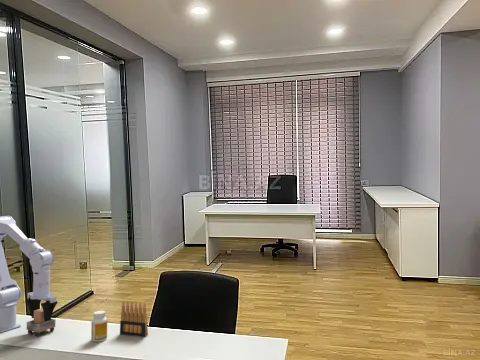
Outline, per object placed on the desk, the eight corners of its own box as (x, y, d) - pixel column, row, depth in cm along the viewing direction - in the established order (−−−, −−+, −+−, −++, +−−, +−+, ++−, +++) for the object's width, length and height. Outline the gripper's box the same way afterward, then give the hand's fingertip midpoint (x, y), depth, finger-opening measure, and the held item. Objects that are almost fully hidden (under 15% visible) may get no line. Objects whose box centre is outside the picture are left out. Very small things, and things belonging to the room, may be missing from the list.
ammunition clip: (147, 335, 141) (148, 302, 141) (145, 337, 139) (145, 304, 140) (122, 332, 144) (122, 300, 144) (119, 334, 142) (119, 302, 142)
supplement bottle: (110, 337, 138) (110, 311, 139) (99, 343, 134) (99, 315, 134) (99, 335, 141) (99, 309, 141) (88, 340, 136) (88, 313, 136)
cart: (26, 333, 143) (26, 322, 143) (43, 327, 149) (43, 316, 149) (38, 336, 139) (38, 325, 139) (55, 330, 145) (55, 319, 146)
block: (33, 326, 143) (33, 310, 144) (43, 323, 147) (43, 307, 147) (40, 328, 142) (40, 312, 142) (50, 325, 145) (50, 309, 145)
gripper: (19, 283, 145) (19, 319, 144) (44, 287, 138) (43, 325, 137) (37, 279, 151) (36, 314, 150) (61, 283, 144) (60, 319, 144)
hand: (41, 319), depth 144 cm, fingers open, 7 cm apart
